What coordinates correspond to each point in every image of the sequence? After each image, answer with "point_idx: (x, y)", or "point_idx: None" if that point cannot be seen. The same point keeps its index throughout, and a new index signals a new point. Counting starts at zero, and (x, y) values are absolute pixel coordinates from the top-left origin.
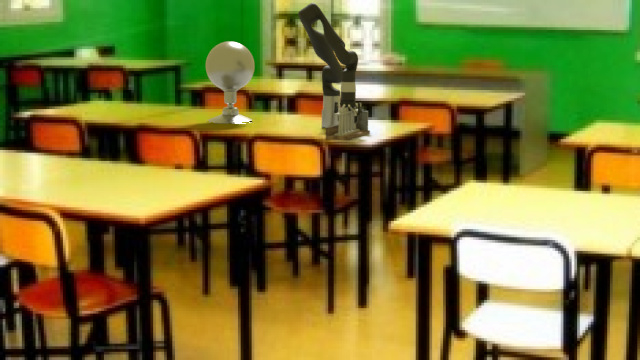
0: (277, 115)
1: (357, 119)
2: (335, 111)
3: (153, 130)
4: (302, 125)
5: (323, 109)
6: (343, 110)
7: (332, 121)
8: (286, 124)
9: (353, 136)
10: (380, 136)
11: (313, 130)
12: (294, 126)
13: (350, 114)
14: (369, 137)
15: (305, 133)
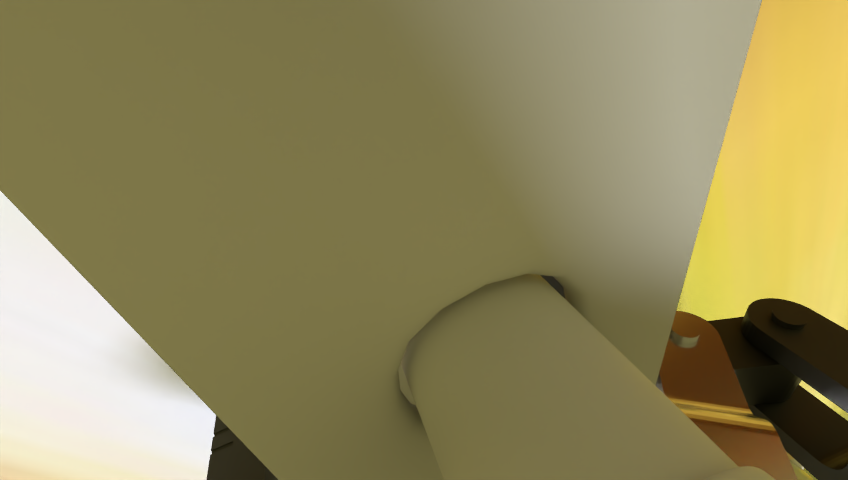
0: (840, 408)
1: (224, 458)
2: (811, 340)
3: None
4: None
5: (801, 468)
6: (589, 390)
7: None
8: (842, 309)
9: None
10: (68, 432)
11: (721, 258)
12: (815, 293)
13: None
14: (52, 305)
15: (766, 75)
